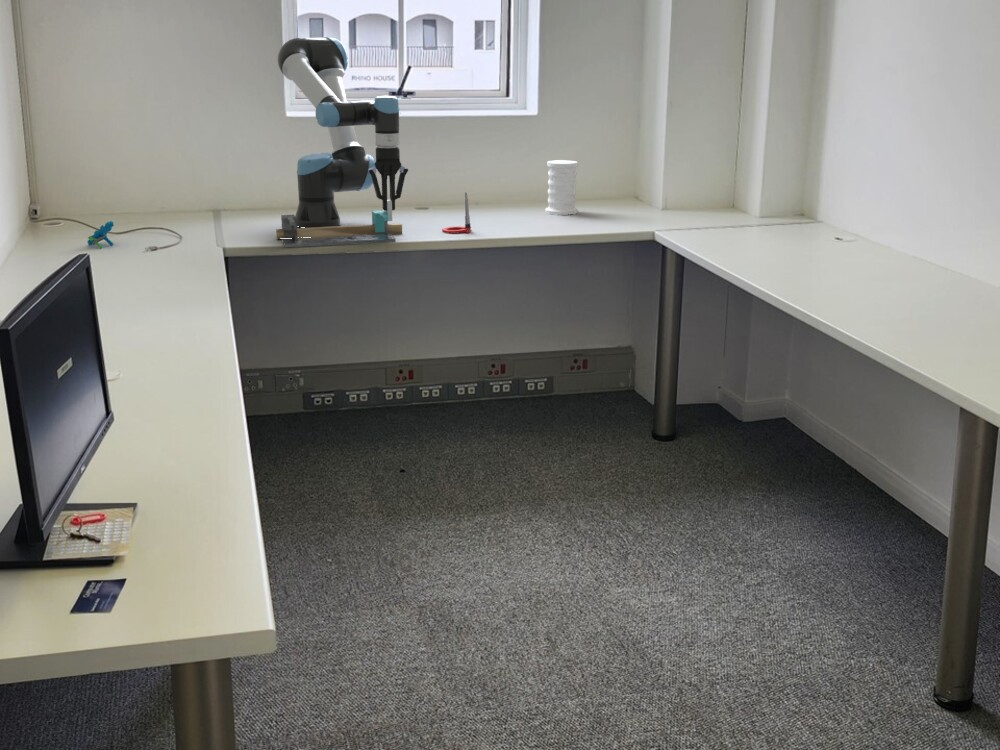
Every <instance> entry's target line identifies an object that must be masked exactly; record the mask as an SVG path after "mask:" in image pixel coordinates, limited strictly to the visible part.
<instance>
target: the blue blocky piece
mask: <svg viewBox="0 0 1000 750" xmlns="http://www.w3.org/2000/svg"><path fill="white" fill-rule="evenodd" d="M114 226H115V225H114V221H112V220H110V221H107V222H105V224H104V225H103V224H102V225H101V226H100V227H99V229H97V230H95V231H94V232H93V234H92V235H89V236H88V237H87V239H88V240H87V245H88V246H89V247H91V246H92V245H93V246H94V245H97V247H98V248H100V249H101V250H102V248H103V246H102V244H100V243H99V242H101V241H103V240H104V241H106V243H107V244H109V245H110V247H113V245H114V243H113V242H112V241H111V240H110V239H109V238H108V233H109V232H110V231H112V229H113V228H112V227H114Z"/></svg>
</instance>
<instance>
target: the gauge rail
mask: <svg viewBox="0 0 1000 750" xmlns="http://www.w3.org/2000/svg"><path fill="white" fill-rule="evenodd" d="M280 216H281V218H280V219H281V228H276V229H275V233H276V234H275V235H276V240H277V239H280V238H292V240H295V238H298V237H299V238H301V237H302V238H303V237H330V236H349V235H368V234H385V232H377V233H375V225H374V224H373V225H372V224H357V225H355V224H354V225H339V226H332V227H312V228H299V227H297V224H296V214H281V215H280ZM388 233H390V234H391V235H397V234H399V235H400V233H402V234H403V224H402V223H401V222H399V223H393V222H392V223H388Z"/></svg>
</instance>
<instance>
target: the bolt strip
mask: <svg viewBox="0 0 1000 750" xmlns="http://www.w3.org/2000/svg"><path fill="white" fill-rule="evenodd" d="M282 241H283V243H284V244H285V246H284V247H285V248H286V249H288V248H306V247H324V246H340V245H360V244H377V243H379V244H380V243H396V241H397V240H396V237H395V236H393V234H390V233H388V235H385V234H368V235H349V236H330V237H311V238H295V240H292V239H282V240H281V242H282ZM283 243H282V244H283ZM284 244H283V245H284Z"/></svg>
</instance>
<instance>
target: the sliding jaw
mask: <svg viewBox="0 0 1000 750" xmlns="http://www.w3.org/2000/svg"><path fill="white" fill-rule="evenodd" d="M371 221H372V223H371V225H373V224H374V225H375V233H377V232H385V235H388V224H389V223H388V222H389V221H388V217H387V212H386V211H384V210H383V209H382V210H371Z"/></svg>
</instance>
